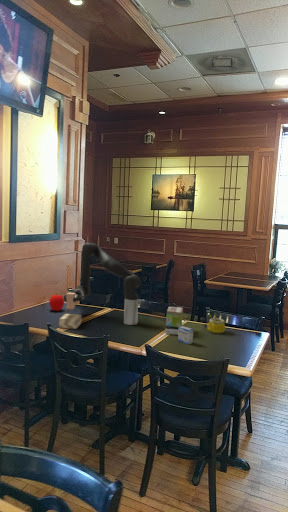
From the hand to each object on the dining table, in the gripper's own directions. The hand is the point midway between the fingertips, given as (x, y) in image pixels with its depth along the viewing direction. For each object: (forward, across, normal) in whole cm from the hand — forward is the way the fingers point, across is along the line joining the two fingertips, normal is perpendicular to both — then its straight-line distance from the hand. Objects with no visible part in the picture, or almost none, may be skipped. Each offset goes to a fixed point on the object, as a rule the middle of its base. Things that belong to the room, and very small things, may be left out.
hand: (69, 300), depth 237 cm
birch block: (-2, 0, +18) cm, 18 cm away
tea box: (-5, +68, +17) cm, 71 cm away
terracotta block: (-3, 0, +6) cm, 7 cm away
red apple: (-39, -22, +18) cm, 49 cm away
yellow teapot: (-11, +95, +17) cm, 97 cm away
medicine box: (+16, +75, +17) cm, 79 cm away
